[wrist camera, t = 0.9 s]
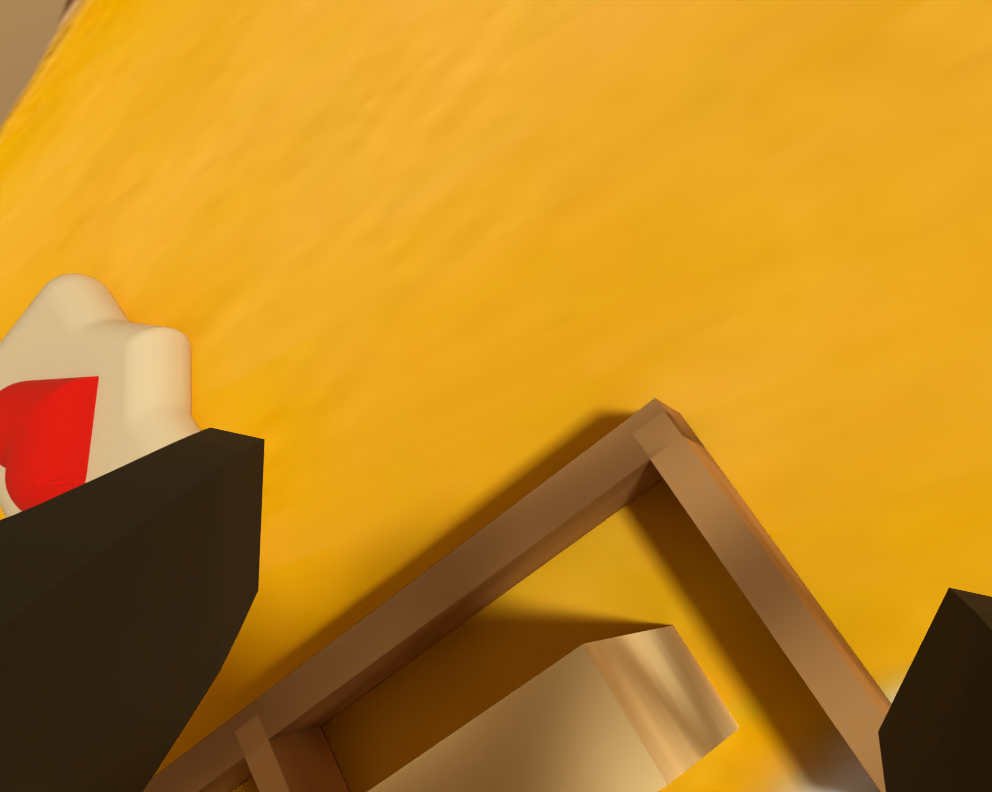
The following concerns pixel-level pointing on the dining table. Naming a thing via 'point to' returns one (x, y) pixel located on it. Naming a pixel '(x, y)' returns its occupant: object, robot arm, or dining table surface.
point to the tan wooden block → (585, 726)
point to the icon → (85, 392)
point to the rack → (504, 563)
